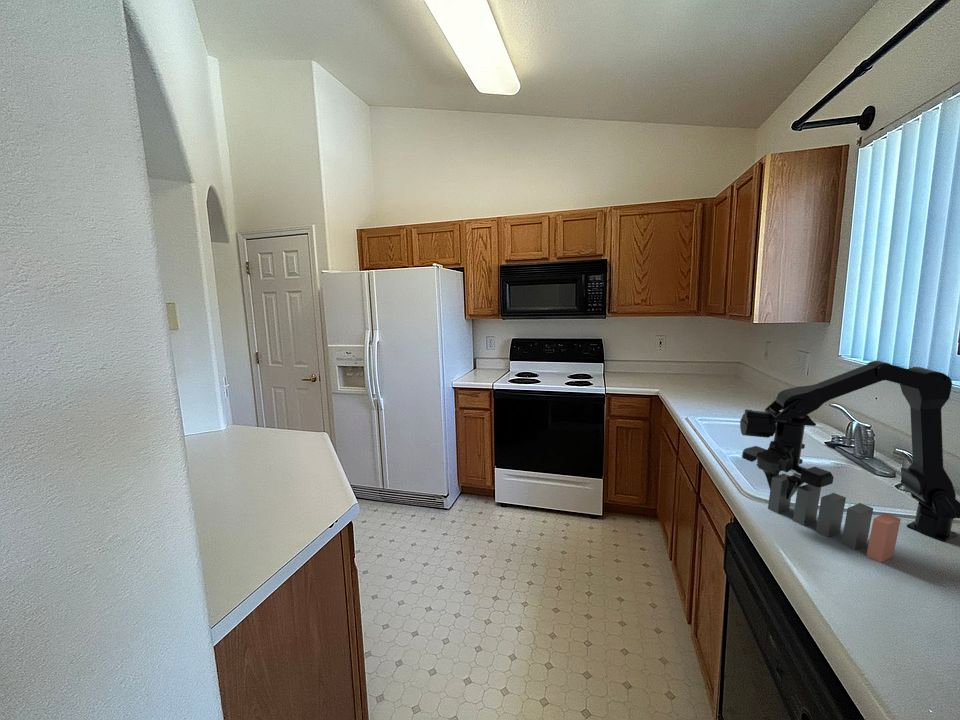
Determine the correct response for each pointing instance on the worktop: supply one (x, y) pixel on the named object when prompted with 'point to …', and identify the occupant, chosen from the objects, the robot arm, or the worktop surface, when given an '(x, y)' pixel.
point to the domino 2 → (806, 504)
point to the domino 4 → (857, 526)
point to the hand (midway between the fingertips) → (780, 495)
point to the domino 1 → (779, 494)
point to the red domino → (883, 537)
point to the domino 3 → (830, 514)
